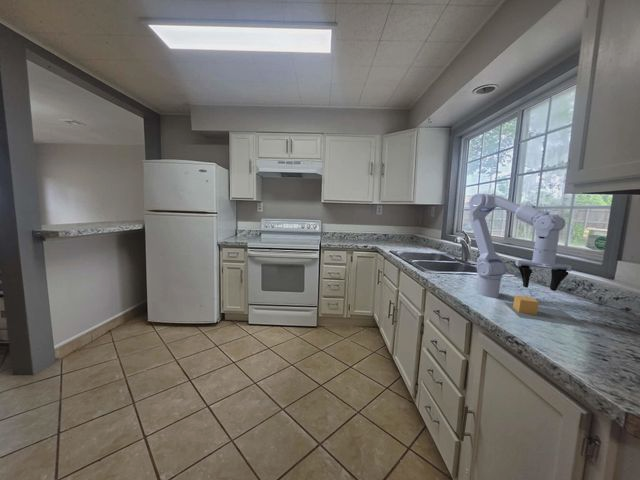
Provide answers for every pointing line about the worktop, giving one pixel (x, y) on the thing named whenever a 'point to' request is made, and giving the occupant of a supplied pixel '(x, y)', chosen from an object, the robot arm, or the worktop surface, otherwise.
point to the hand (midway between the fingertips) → (538, 288)
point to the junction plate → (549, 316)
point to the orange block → (525, 305)
